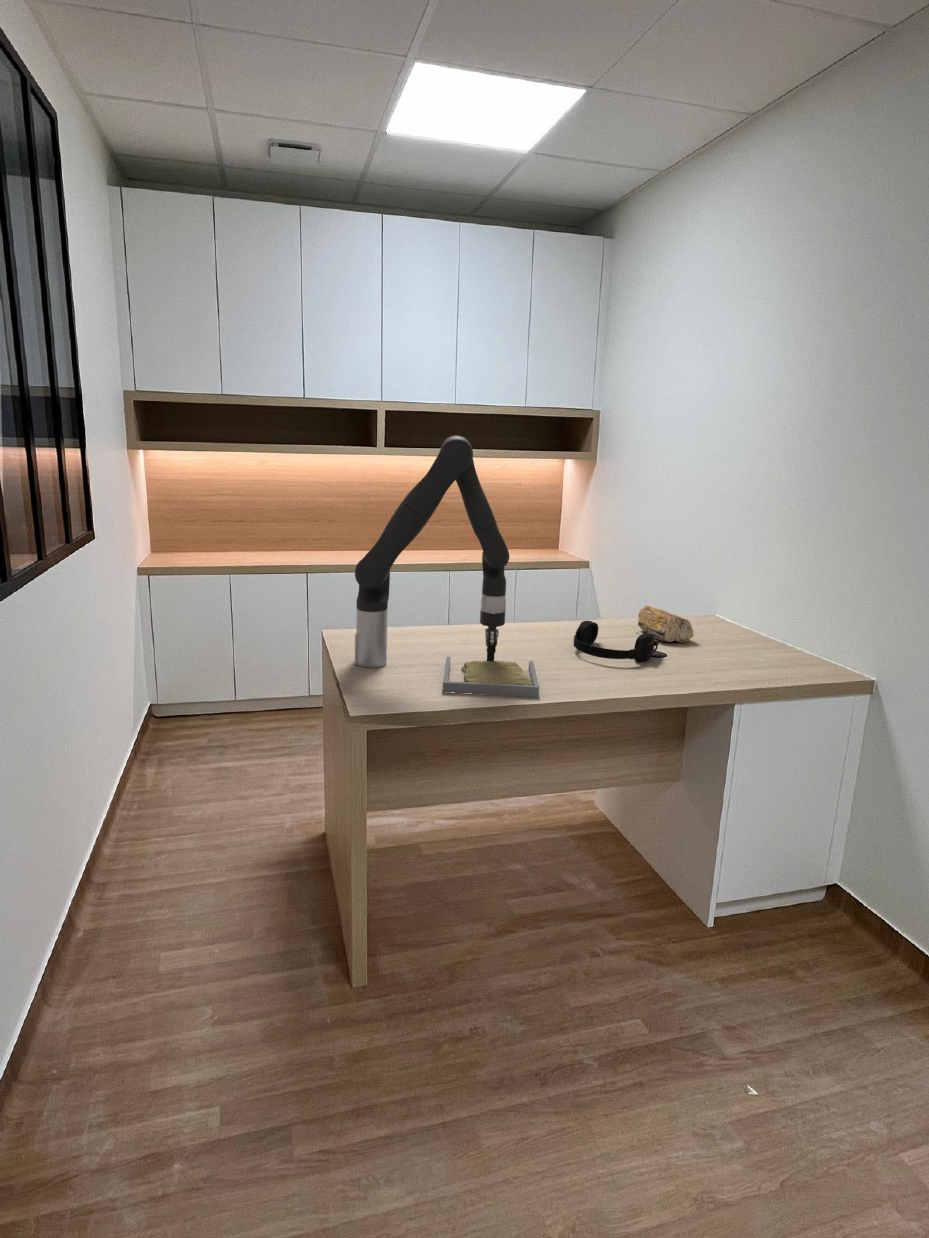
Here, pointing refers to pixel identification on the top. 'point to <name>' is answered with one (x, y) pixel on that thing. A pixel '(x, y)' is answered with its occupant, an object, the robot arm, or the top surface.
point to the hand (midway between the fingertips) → (490, 663)
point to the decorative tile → (495, 673)
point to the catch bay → (492, 685)
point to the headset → (589, 634)
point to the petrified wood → (664, 625)
